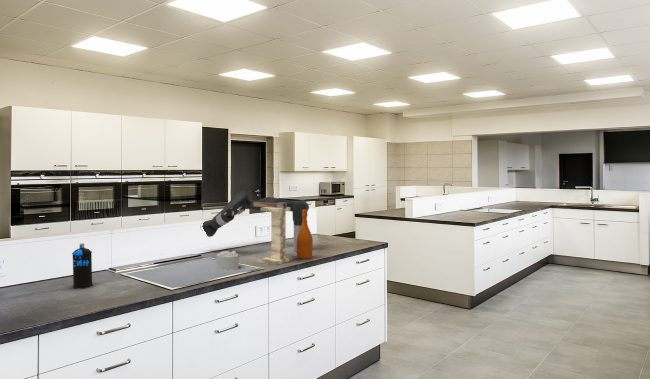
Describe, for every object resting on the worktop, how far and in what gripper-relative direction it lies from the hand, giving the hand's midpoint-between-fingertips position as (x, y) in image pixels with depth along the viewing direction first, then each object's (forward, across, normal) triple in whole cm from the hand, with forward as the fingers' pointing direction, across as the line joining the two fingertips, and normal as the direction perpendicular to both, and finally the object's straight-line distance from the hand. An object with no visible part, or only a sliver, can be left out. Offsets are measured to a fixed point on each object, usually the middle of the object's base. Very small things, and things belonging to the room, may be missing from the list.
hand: (242, 206), depth 275 cm
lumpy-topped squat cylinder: (-6, -26, +34) cm, 43 cm away
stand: (+6, 0, +40) cm, 40 cm away
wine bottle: (+14, +17, +45) cm, 50 cm away
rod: (+18, 0, +10) cm, 21 cm away
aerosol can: (-34, -90, +18) cm, 98 cm away
